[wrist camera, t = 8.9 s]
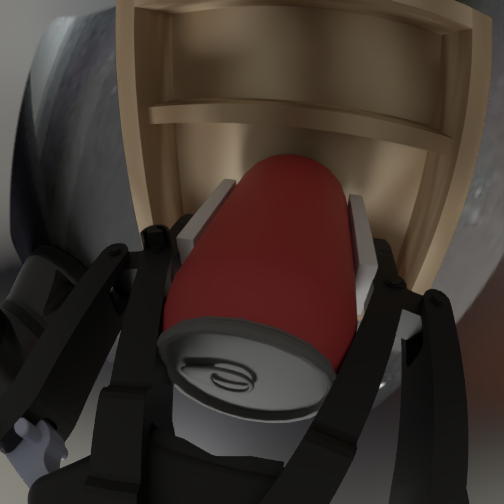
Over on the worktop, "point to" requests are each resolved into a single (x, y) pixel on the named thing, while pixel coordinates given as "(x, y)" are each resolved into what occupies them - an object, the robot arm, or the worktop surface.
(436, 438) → the robot arm
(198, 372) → the beer can
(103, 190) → the worktop surface
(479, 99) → the crate
